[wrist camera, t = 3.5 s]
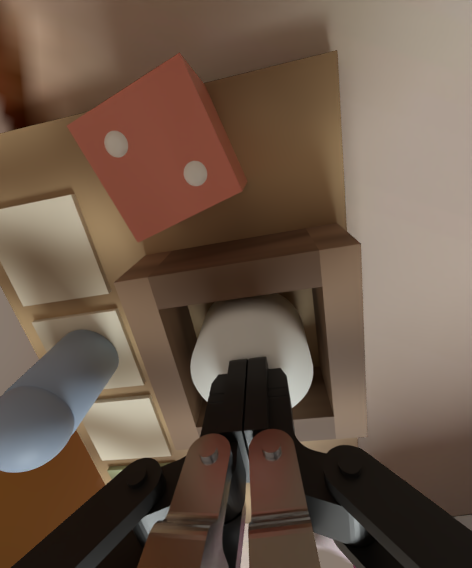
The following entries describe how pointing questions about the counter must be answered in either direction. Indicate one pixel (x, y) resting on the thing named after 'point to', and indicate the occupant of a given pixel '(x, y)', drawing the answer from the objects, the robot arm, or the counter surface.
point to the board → (194, 265)
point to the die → (160, 149)
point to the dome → (253, 341)
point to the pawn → (53, 399)
